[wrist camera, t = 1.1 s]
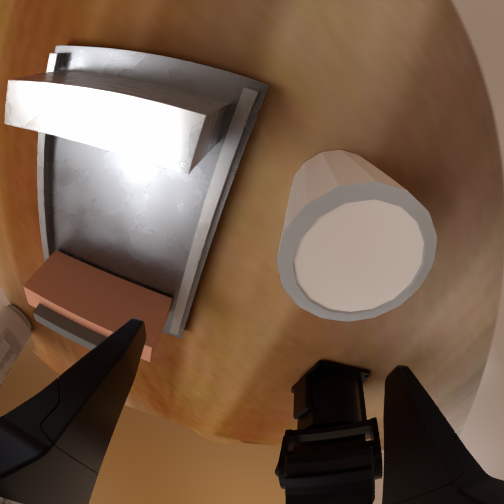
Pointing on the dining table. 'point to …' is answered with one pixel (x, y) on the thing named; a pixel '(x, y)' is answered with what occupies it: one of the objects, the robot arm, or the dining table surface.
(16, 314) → the energy drink can
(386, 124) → the dining table surface
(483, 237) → the dining table surface
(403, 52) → the dining table surface
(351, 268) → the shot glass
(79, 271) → the sliding jaw
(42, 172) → the vise base
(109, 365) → the robot arm
